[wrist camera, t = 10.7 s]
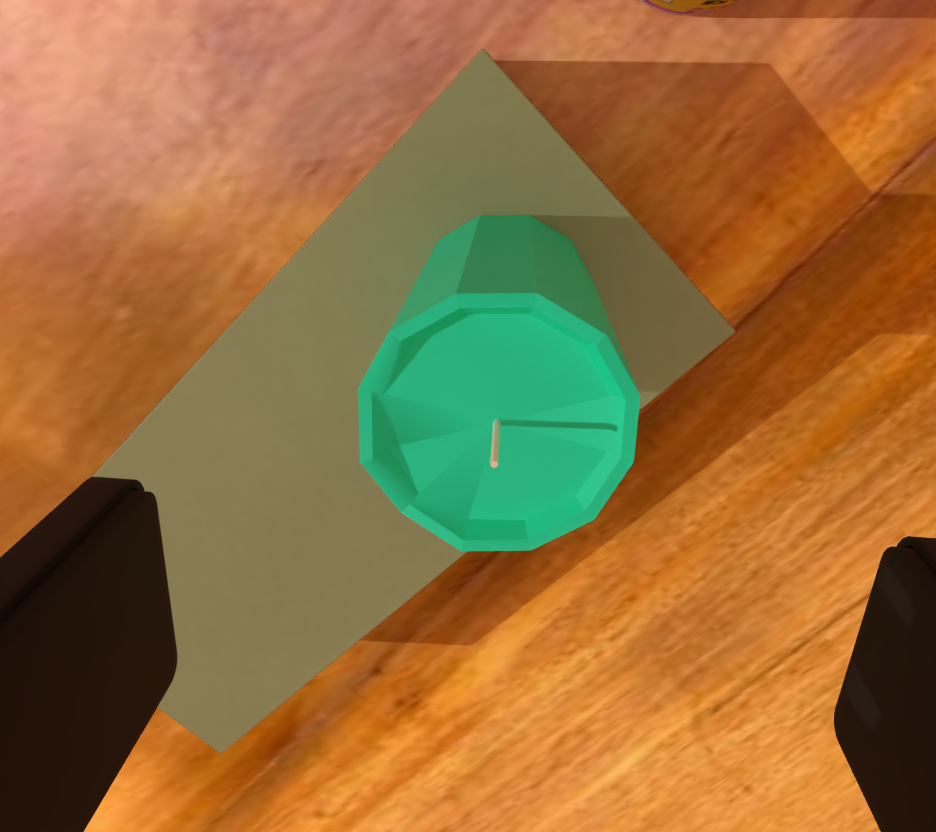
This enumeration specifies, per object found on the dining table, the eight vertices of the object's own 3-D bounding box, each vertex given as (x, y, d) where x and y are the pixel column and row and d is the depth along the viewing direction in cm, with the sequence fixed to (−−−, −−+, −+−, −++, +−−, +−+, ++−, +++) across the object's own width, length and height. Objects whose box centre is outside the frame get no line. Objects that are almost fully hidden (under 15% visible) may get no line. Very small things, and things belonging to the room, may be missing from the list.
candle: (505, 170, 24) (494, 235, 13) (633, 304, 25) (723, 468, 14) (377, 304, 26) (271, 460, 15) (503, 422, 27) (493, 646, 16)
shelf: (490, 59, 30) (482, 47, 23) (687, 278, 33) (736, 331, 25) (91, 493, 39) (-10, 587, 31) (273, 637, 41) (221, 754, 34)
